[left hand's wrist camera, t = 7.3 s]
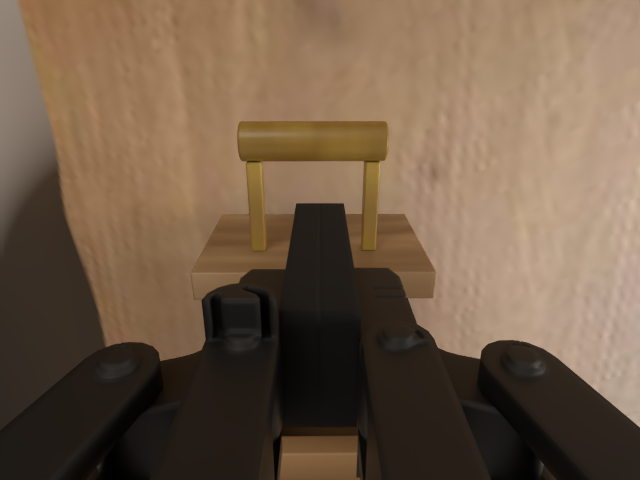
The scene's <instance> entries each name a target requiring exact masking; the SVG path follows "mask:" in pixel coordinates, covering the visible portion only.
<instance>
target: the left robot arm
mask: <svg viewBox="0 0 640 480" xmlns="http://www.w3.org/2000/svg"><path fill="white" fill-rule="evenodd" d="M202 308H203V317H204V326H205V335H206V341H205V343H204V346H203V348H202V350H201V351H198V352H196V353H194V354H190V355H187V356H183V357H179V358H174V359H169V360H164V361H160V358H159V352H158V351H157V350H156V349H155V348H154V347H153V346H150V345H147V344H144V343H135V342H127V343H121V344H115V345H111V346H109V347H106V348H104V349H101V350H99V351H97V352H95V353H93V354H92V355H91V356H89V357H87V358H86V359H84V360H83V361H82V362H81V363H80V364H79V365H77V366H76V367H75V368H74V369H73V370H71V371H70V372H69V373H68V374H67V375H65V376H64V377H63V378H62V379H61V380H60V381H58V382H57V383H56V384H55V385H54V386H52V387H51V388H50V389H49V390H48V391H47V392H45V393H44V394H43V395H42V396H41V397H40V398H38V399H37V400H36V401H35V402H34V403H32V404H31V405H30V406H29V407H28V408H26V409H25V410H24V411H23V412H22V413H21V414H19V415H18V416H17V417H16V418H15V419H13V420H12V421H11V422H10V423H9V424H8V425H6V426H5V427H4V428H3V429H2V430H0V480H280V470H281V460H282V449H283V448H282V421H283V427H357V419H358V448H357V472H356V478H360V480H640V427H639V426H637V425H636V424H635V423H634V422H633V421H631V420H630V419H629V418H628V417H627V416H625V415H624V414H623V413H622V412H621V411H619V410H618V409H617V408H616V407H615V406H613V405H612V404H611V403H610V402H609V401H608V400H606V399H605V398H604V397H603V396H602V395H600V394H599V393H598V392H597V391H596V390H594V389H593V388H592V387H591V386H590V385H588V384H587V383H586V382H585V381H584V380H583V379H581V378H580V377H579V376H578V375H577V374H575V373H574V372H573V371H572V370H571V369H569V368H568V367H567V366H566V365H565V364H563V363H562V362H561V361H560V360H559V359H558V358H556V357H555V356H553V355H552V354H550V353H549V352H547V351H546V350H544V349H542V348H539V347H537V346H534V345H532V344H530V343H526V342H522V341H521V342H519V341H514V340H503V341H496V342H493V343H490V344H488V345H487V346H486V347H485V348H484V349H483V350H482V352H481V358H480V359H476V358H471V357H466V356H461V355H457V354H453V353H449V352H446V351H444V350H442V349H439V348H438V347H437V345H436V343H435V340H434V338H433V337H432V336H431V334H430V333H429V332H428V331H427V330H425V329H424V328H422V327H421V326H419V325H417V323H416V320H415V317H414V315H413V312H412V309H411V306H410V304H409V301H408V298H407V296H406V293H405V290H404V289H403V285H402V282H401V279H400V277H399V276H398V275H397V274H395V273H394V272H393V271H392V270H390V269H389V268H354V263H353V257H352V251H351V245H350V239H349V233H348V227H347V221H346V215H345V209H344V204H296V209H295V215H294V221H293V227H292V233H291V239H290V245H289V251H288V257H287V263H286V269H251V270H250V271H249V272H248V273H246V274H245V275H244V276H243V277H241V278H240V281H239V283H236V284H229V285H225V286H222V287H218V288H216V289H214V290H212V291H211V292H209V293H207V294H206V296H205V297H204V298H203V299H202Z"/></svg>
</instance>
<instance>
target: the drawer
mask: <svg viewBox="0 0 640 480" xmlns="http://www.w3.org/2000/svg"><path fill="white" fill-rule="evenodd" d="M237 140H238V152H239V157H240V159H241V161H247V163H246V170H247V186H248V201H249V215H222V216H221V218H220V220H219V222H218V224H217V226H216V227H215V229H214V231H213V233H212V235H211V237H210V239H209V240H208V242H207V244H206V246H205V248H204V250H203V252H202V253H201V255H200V257H199V259H198V261H197V263H196V265H195V266H194V268H193V270H192V272H191V279H192V287H193V295H194V299H203V298H204V297H205V296H206V294H207V293H209V292H211V291H212V290H214V289H216V288H218V287H222V286H225V285H229V284H236V283H239V281H240V278H241V277H243V276H244V275H245V274H246V273H248V272H249V271H250V270H251V269H286V263H287V257H288V251H289V245H290V239H291V233H292V227H293V221H294V215H265V200H264V180H263V161H364V175H363V200H362V214H345V215H346V221H347V227H348V233H349V239H350V245H351V251H352V257H353V263H354V268H389V269H390V270H392V271H393V272H394V273H395V274H397V275H398V276H399V277H400V279H401V282H402V285H403V289H404V290H405V293H406V296H407V298H433V294H434V285H435V277H436V271H435V269H434V267H433V266H432V264H431V262H430V260H429V258H428V256H427V255H426V253H425V251H424V249H423V247H422V245H421V244H420V242H419V240H418V238H417V236H416V234H415V232H414V231H413V229H412V227H411V225H410V223H409V221H408V220H407V218H406V216H405V214H378V198H379V180H380V162H379V161H385V160H386V158H387V154H388V145H389V131H388V125H387V122H385V121H242V122H240V123H239V126H238V135H237ZM282 436H358V419H357V427H283V421H282Z"/></svg>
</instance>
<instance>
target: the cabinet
mask: <svg viewBox="0 0 640 480" xmlns="http://www.w3.org/2000/svg"><path fill="white" fill-rule="evenodd" d="M282 448H283V449H282V460H281V470H280V480H360V478H356V472H357V448H358V436H282Z"/></svg>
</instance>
